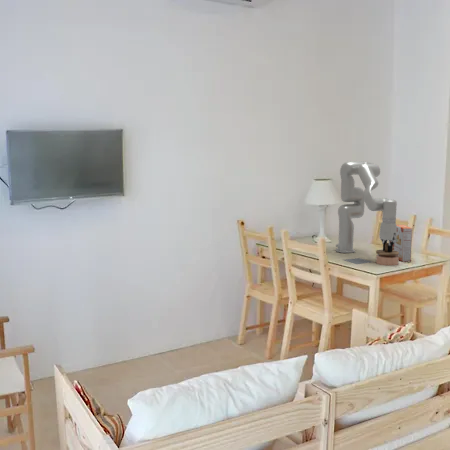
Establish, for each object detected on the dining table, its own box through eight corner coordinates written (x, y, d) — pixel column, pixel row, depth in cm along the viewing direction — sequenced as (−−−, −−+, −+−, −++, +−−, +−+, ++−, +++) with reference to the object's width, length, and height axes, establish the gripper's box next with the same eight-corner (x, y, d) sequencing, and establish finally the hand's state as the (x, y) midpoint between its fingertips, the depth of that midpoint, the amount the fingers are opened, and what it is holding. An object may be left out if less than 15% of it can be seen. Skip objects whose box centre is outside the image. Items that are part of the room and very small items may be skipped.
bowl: (371, 262, 327) (372, 254, 326) (387, 261, 332) (387, 253, 332) (386, 267, 316) (386, 258, 315) (402, 265, 321) (402, 256, 321)
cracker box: (393, 257, 344) (394, 224, 341) (402, 257, 344) (403, 224, 341) (401, 261, 330) (402, 227, 327) (411, 261, 330) (412, 227, 327)
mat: (342, 260, 332) (342, 259, 332) (359, 258, 338) (359, 258, 338) (356, 265, 321) (356, 264, 321) (373, 263, 327) (373, 262, 326)
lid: (371, 252, 326) (371, 242, 325) (387, 250, 332) (388, 240, 331) (386, 256, 315) (387, 246, 314) (403, 254, 320) (404, 244, 320)
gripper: (374, 219, 326) (373, 249, 329) (394, 222, 311) (392, 254, 314) (384, 218, 329) (382, 248, 332) (404, 222, 315) (402, 253, 318)
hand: (387, 251), depth 323 cm, fingers closed on lid, 3 cm apart
